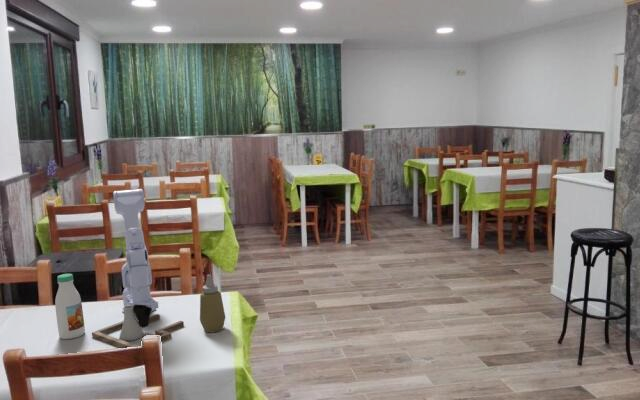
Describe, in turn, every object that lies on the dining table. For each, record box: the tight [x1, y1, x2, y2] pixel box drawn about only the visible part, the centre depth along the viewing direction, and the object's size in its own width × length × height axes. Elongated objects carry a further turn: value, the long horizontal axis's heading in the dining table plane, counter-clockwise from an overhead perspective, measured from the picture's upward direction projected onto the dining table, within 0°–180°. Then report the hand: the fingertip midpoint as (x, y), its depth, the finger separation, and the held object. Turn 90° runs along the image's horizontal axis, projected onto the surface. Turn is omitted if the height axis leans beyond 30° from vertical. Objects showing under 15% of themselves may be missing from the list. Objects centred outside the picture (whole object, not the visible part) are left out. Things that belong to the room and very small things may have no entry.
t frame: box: [91, 313, 185, 349], centre depth 178 cm, size 23×22×2 cm
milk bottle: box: [54, 273, 86, 340], centre depth 178 cm, size 8×8×20 cm
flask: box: [118, 305, 145, 342], centre depth 174 cm, size 7×7×10 cm
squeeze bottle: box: [199, 274, 226, 333], centre depth 177 cm, size 8×8×18 cm
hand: (144, 326), depth 178 cm, fingers closed
